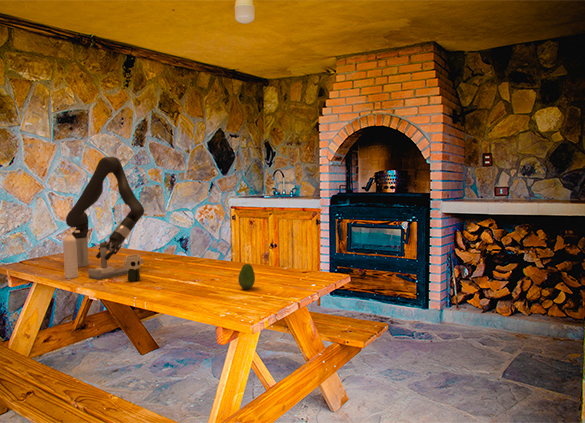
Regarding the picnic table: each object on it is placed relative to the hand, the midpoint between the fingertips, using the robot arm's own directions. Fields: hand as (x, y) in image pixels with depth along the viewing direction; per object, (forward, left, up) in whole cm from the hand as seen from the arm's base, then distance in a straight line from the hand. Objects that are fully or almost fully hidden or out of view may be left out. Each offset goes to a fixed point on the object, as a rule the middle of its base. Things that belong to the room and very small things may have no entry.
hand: (101, 258), depth 229 cm
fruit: (+82, +24, -10) cm, 86 cm away
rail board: (0, +7, -10) cm, 13 cm away
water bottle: (-14, -8, -10) cm, 19 cm away
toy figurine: (+21, +5, -10) cm, 24 cm away
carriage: (0, +1, -8) cm, 8 cm away
